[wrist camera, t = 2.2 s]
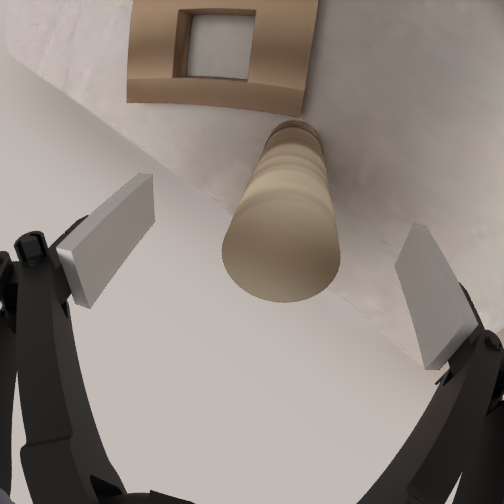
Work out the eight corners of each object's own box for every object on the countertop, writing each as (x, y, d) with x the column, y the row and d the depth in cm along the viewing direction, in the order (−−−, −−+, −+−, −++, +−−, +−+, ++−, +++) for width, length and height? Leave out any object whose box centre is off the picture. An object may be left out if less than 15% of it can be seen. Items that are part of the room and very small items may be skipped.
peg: (271, 115, 22) (224, 194, 10) (325, 125, 22) (357, 220, 9) (264, 164, 25) (218, 291, 12) (315, 174, 25) (323, 311, 12)
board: (160, -54, 13) (144, -63, 11) (324, -54, 12) (326, -67, 10) (143, 97, 23) (126, 103, 20) (300, 111, 22) (300, 117, 19)
